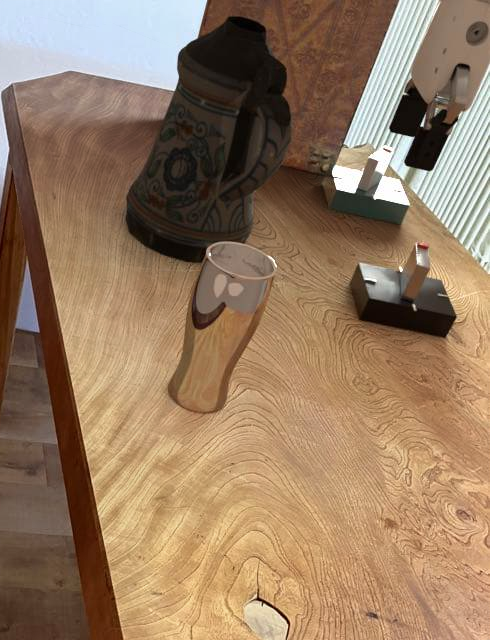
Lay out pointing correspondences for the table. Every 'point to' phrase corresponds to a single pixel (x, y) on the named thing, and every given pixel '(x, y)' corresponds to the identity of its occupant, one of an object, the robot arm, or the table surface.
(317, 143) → the book
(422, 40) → the robot arm
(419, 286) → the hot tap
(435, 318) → the base
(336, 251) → the table surface
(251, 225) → the beer stein
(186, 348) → the beer glass
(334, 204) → the base
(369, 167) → the cold tap
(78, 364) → the table surface
